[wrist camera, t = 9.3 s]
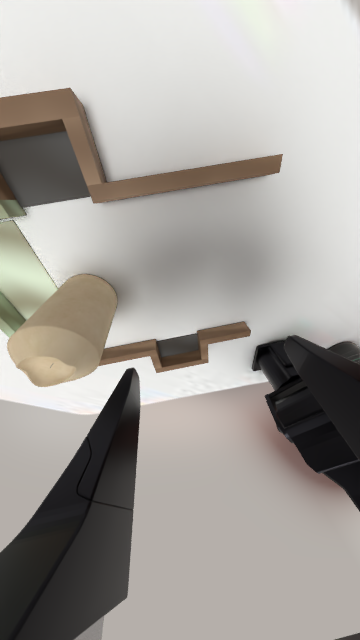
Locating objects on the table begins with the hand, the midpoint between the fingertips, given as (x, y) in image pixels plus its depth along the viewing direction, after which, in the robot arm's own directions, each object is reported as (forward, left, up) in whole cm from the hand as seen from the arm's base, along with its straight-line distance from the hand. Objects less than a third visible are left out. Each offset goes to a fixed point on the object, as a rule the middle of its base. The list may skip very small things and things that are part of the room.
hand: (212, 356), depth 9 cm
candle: (0, +10, -12) cm, 15 cm away
